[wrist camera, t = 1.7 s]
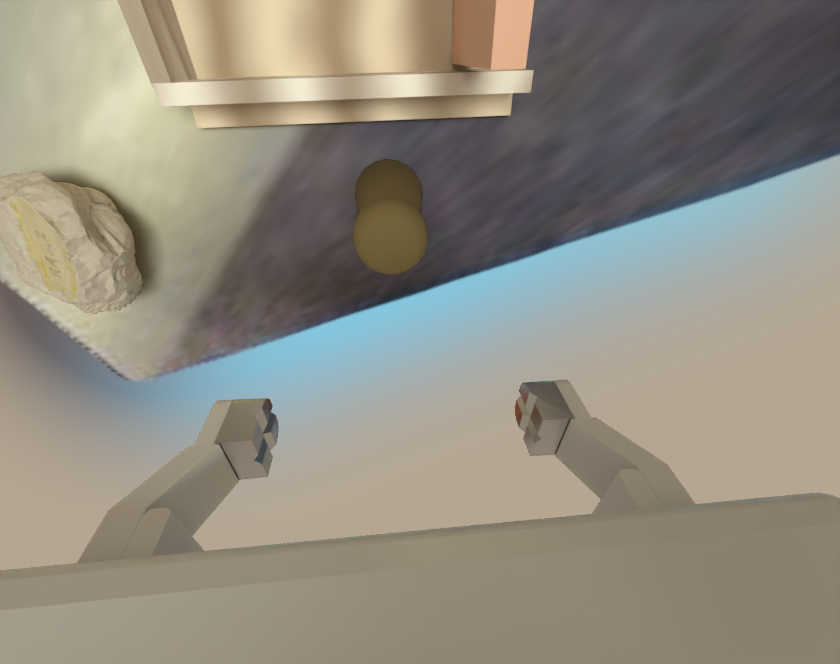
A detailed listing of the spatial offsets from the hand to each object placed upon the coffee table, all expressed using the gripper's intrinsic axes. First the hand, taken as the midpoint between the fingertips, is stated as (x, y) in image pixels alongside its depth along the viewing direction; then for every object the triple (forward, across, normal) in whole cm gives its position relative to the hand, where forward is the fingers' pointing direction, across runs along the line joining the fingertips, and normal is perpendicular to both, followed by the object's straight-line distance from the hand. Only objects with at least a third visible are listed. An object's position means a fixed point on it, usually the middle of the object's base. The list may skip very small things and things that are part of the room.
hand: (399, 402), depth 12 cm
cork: (+25, 0, +1) cm, 25 cm away
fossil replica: (+26, +26, +4) cm, 37 cm away
